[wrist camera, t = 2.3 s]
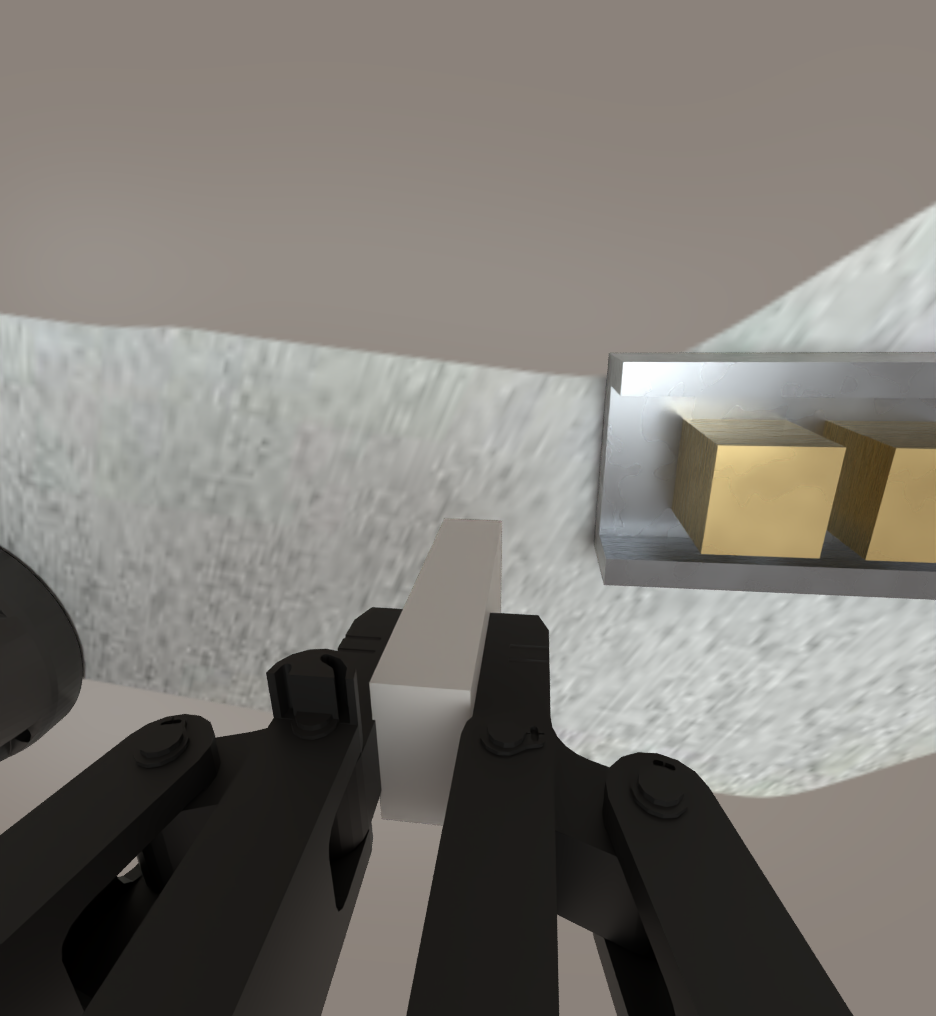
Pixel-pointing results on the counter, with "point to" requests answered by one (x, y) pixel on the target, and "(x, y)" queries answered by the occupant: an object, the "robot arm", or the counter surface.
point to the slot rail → (749, 396)
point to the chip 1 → (755, 487)
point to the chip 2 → (886, 489)
